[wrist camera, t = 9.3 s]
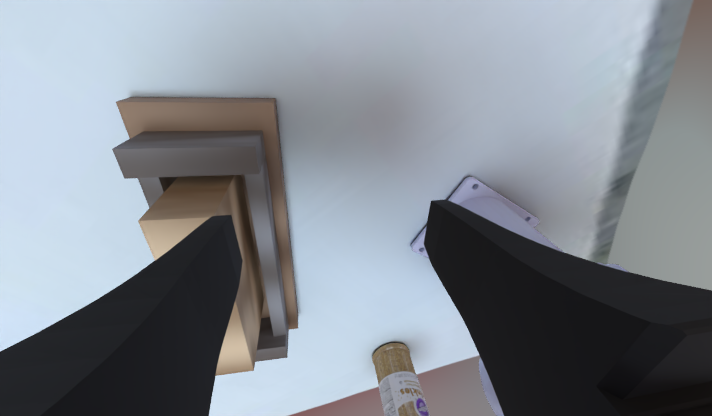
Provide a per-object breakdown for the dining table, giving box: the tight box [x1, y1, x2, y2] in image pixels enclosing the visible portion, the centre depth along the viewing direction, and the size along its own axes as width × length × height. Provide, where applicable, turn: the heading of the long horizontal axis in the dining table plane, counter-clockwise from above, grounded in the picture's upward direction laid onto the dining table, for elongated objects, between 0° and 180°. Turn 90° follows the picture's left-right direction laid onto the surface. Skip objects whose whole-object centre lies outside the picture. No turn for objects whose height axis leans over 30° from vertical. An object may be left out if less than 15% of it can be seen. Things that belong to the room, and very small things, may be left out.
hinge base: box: [112, 97, 298, 362], centre depth 20 cm, size 20×8×4 cm, turn 178°
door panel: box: [138, 175, 264, 376], centre depth 18 cm, size 13×3×6 cm, turn 178°
